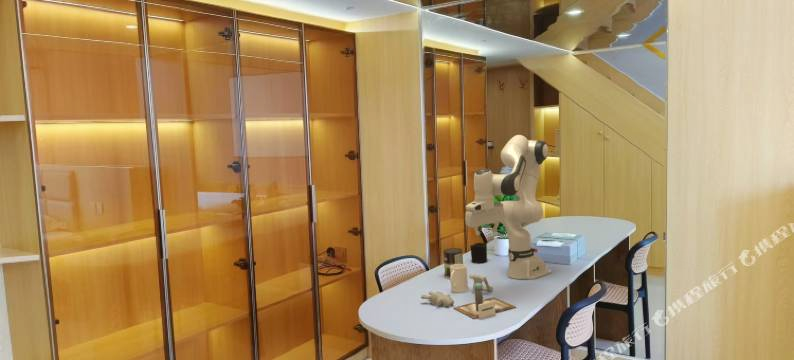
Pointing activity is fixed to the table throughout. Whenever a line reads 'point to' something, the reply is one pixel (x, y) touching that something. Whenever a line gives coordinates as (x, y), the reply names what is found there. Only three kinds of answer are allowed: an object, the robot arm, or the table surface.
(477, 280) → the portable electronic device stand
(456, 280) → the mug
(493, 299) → the picture frame
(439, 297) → the bunny figurine
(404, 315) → the table surface
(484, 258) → the pen holder
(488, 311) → the word card
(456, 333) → the table surface
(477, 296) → the marker
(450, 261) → the coffee can
